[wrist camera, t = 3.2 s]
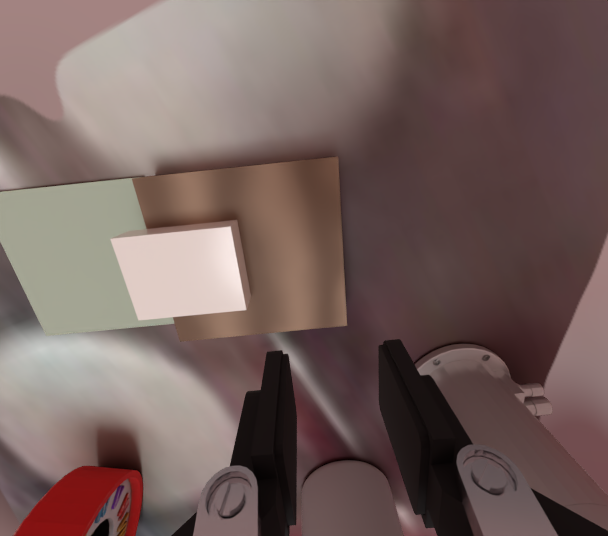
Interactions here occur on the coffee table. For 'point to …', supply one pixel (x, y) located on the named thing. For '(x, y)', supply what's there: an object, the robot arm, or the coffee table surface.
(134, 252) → the tile
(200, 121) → the coffee table surface
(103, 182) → the mat
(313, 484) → the cylinder vase
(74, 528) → the toy clock
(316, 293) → the plate
